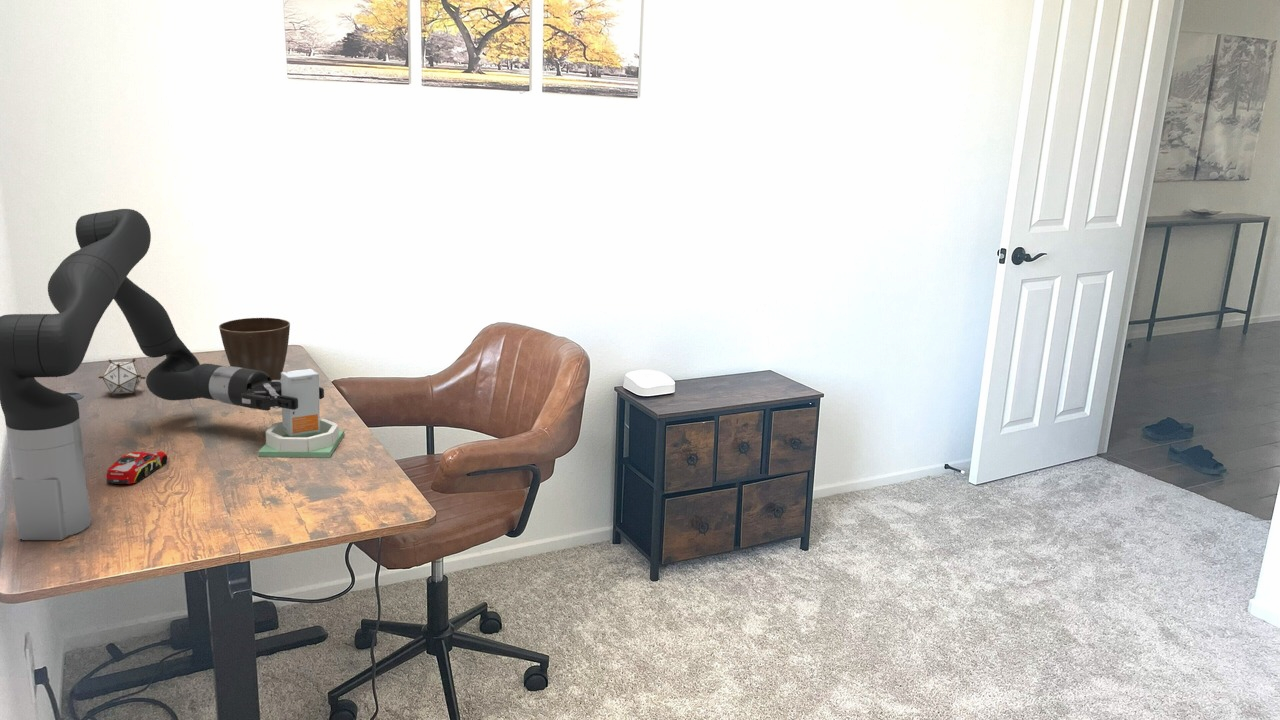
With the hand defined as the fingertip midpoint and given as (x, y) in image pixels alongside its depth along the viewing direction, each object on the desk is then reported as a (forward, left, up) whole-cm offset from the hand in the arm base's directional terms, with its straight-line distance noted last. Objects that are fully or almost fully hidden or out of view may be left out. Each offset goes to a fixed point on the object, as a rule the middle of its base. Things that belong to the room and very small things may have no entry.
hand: (310, 398), depth 176 cm
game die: (+33, +49, -10) cm, 60 cm away
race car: (-14, +26, -10) cm, 32 cm away
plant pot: (+37, +21, -10) cm, 43 cm away
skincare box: (+1, +2, -7) cm, 8 cm away
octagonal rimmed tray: (+1, +2, -10) cm, 10 cm away
